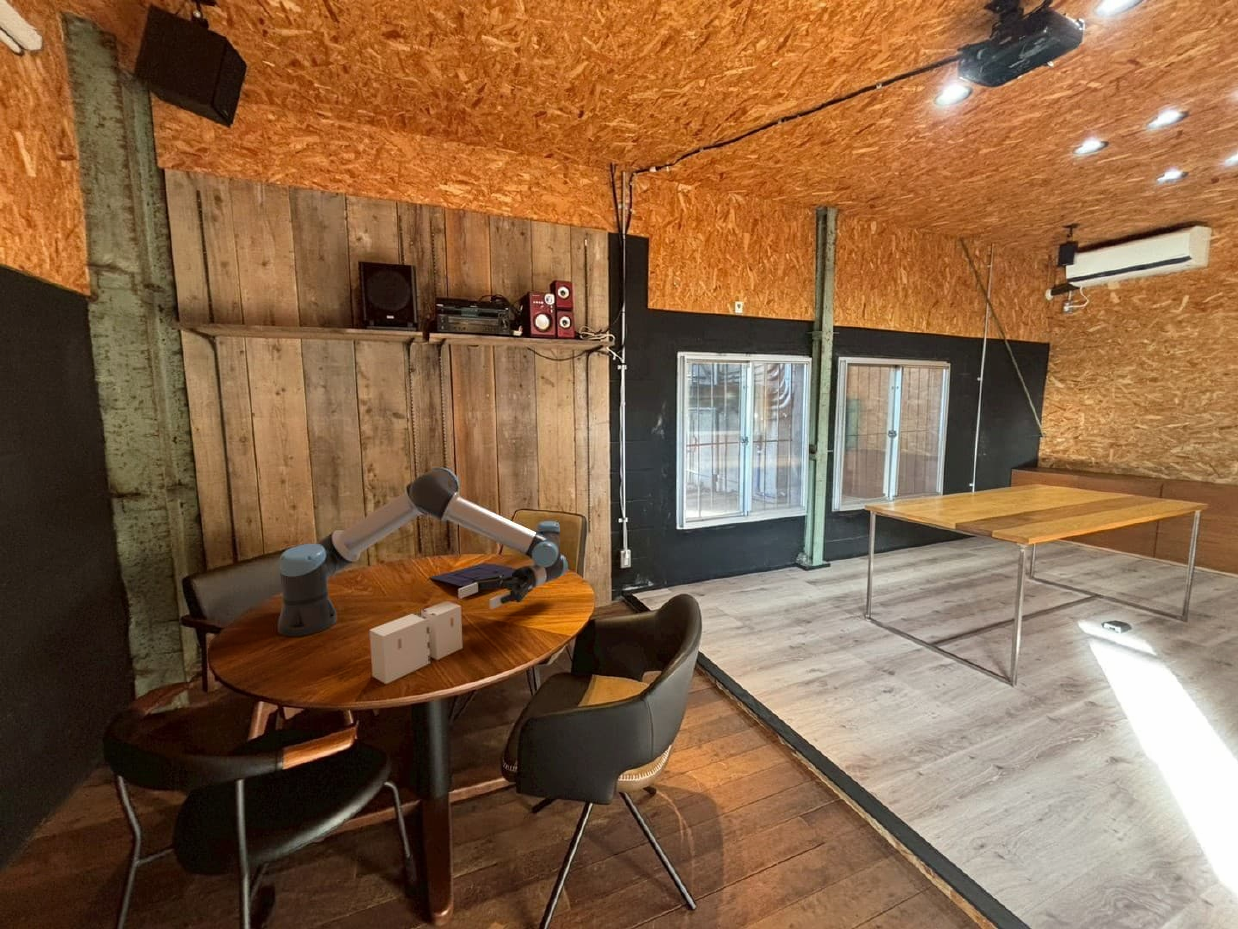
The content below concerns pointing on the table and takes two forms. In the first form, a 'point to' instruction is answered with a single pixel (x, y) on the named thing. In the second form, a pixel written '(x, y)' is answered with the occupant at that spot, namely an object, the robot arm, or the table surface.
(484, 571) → the navy flat slab
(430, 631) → the stub
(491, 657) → the table surface
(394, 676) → the white slotted block
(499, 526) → the robot arm
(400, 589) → the table surface
